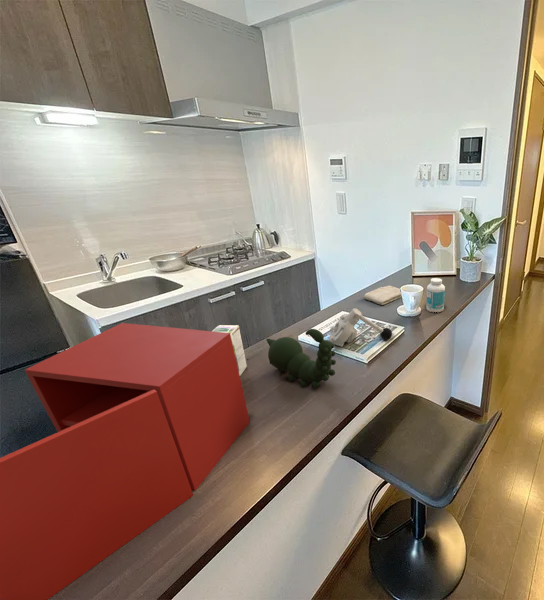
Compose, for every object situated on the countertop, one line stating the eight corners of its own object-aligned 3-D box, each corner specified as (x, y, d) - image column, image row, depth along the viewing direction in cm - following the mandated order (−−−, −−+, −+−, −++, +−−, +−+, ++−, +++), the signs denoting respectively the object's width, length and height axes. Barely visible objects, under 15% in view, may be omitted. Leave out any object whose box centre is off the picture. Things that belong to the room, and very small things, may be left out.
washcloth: (408, 295, 153) (408, 289, 152) (382, 307, 140) (382, 300, 139) (389, 289, 160) (389, 283, 159) (363, 299, 147) (362, 293, 146)
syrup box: (219, 378, 94) (208, 333, 88) (229, 366, 99) (219, 323, 93) (239, 378, 94) (229, 334, 88) (247, 366, 99) (239, 324, 94)
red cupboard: (195, 490, 62) (159, 386, 52) (77, 470, 65) (24, 369, 56) (250, 422, 78) (230, 332, 68) (153, 409, 82) (122, 322, 72)
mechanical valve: (327, 329, 115) (353, 299, 112) (366, 352, 123) (392, 324, 119) (326, 345, 106) (355, 313, 103) (368, 369, 114) (396, 340, 110)
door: (209, 514, 57) (172, 407, 48) (-24, 696, 38) (-163, 575, 28) (191, 492, 61) (154, 388, 52) (-30, 647, 42) (-154, 526, 32)
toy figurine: (342, 385, 94) (281, 354, 104) (342, 329, 85) (276, 301, 96) (319, 405, 86) (256, 369, 97) (317, 345, 78) (248, 313, 89)
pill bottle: (446, 308, 140) (448, 278, 135) (440, 314, 134) (442, 283, 129) (429, 304, 143) (431, 275, 138) (423, 311, 137) (424, 281, 132)
